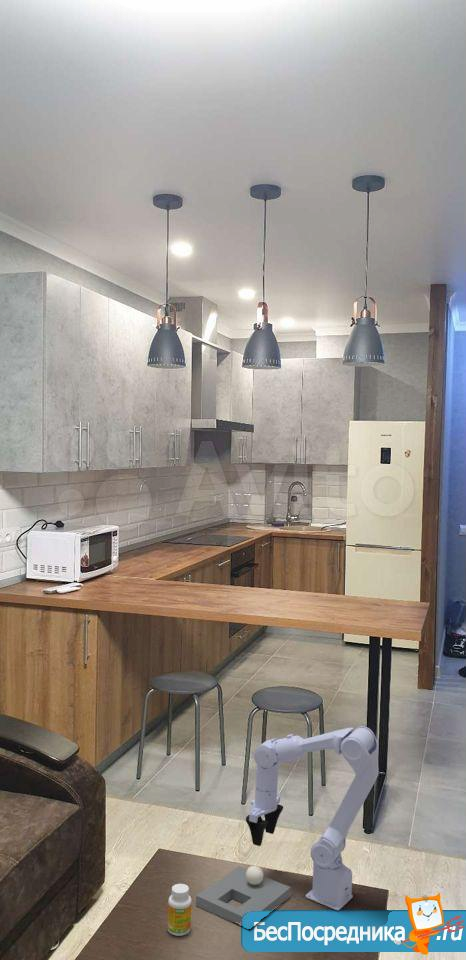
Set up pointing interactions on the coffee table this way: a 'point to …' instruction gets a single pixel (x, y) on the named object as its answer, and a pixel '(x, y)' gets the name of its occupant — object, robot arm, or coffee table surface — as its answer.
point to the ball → (254, 875)
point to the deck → (241, 895)
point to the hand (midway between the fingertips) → (263, 838)
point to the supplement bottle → (179, 910)
